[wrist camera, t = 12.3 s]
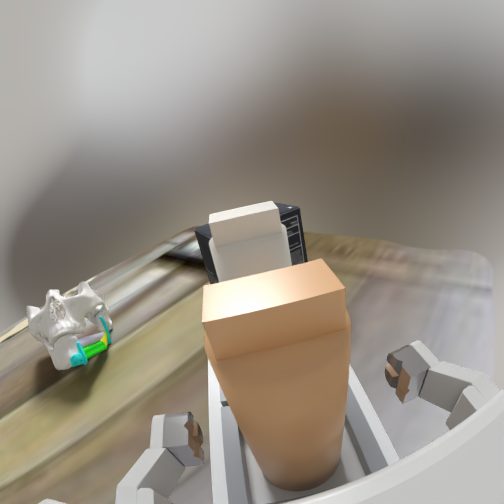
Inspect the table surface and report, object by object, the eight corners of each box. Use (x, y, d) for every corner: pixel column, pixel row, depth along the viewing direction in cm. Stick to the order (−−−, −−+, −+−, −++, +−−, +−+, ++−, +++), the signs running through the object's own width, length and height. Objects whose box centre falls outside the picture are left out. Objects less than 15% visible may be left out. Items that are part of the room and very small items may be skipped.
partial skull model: (29, 385, 20) (7, 305, 23) (58, 391, 27) (36, 327, 30) (120, 346, 25) (89, 268, 28) (132, 359, 33) (105, 296, 36)
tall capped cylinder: (349, 477, 11) (381, 311, 6) (266, 498, 11) (184, 361, 6) (327, 418, 16) (318, 241, 11) (255, 436, 16) (194, 269, 11)
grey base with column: (402, 490, 10) (508, 310, 5) (225, 536, 10) (59, 425, 4) (322, 330, 27) (307, 182, 21) (213, 355, 27) (166, 213, 21)
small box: (282, 272, 40) (270, 199, 35) (313, 289, 34) (303, 206, 30) (214, 304, 35) (191, 226, 31) (238, 329, 30) (214, 239, 26)
